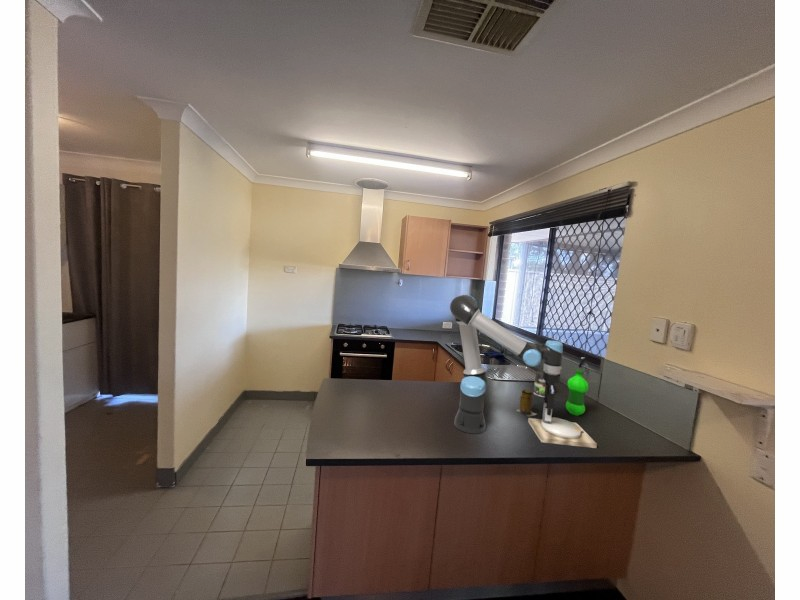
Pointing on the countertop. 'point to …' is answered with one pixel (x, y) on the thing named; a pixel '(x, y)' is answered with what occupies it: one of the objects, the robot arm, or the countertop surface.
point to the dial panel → (549, 438)
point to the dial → (560, 427)
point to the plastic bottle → (577, 393)
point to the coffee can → (539, 384)
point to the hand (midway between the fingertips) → (547, 418)
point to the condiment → (526, 403)
